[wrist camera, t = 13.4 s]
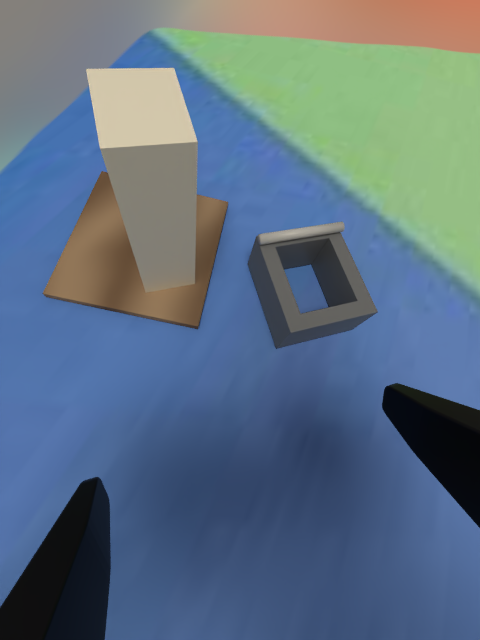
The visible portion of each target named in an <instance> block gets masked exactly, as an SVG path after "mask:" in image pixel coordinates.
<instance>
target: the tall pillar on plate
mask: <svg viewBox="0 0 480 640" xmlns="http://www.w3.org/2000/svg"><path fill="white" fill-rule="evenodd" d="M86 71H87V76H88V82H89V88H90V94H91V99H92V105H93V111H94V116H95V122H96V128H97V133H98V139H99V144H100V149H101V153H102V156H103V159H104V162H105V165H106V168H107V172H108V175H109V178H110V181H111V184H112V187H113V191H114V194H115V197H116V200H117V203H118V206H119V210H120V213H121V216H122V219H123V222H124V225H125V229H126V232H127V235H128V238H129V241H130V244H131V247H132V251H133V254H134V257H135V260H136V263H137V266H138V270H139V273H140V276H141V279H142V282H143V285H144V289H145V292H146V293H147V292H153V291H158V290H164V289H169V288H175V287H180V286H186V285H191V284H195V253H196V199H197V144H198V142H197V139H196V135H195V132H194V129H193V126H192V123H191V120H190V117H189V114H188V110H187V107H186V104H185V101H184V98H183V95H182V92H181V89H180V86H179V82H178V79H177V76H176V73H175V70H174V68H129V69H86Z"/></svg>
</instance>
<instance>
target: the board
mask: <svg viewBox="0 0 480 640" xmlns="http://www.w3.org/2000/svg"><path fill="white" fill-rule="evenodd" d="M227 207H228V202H226V201H221V200H217V199H213V198H209V197H205V196H201V195H197V199H196V253H195V284H191V285H186V286H180V287H175V288H169V289H164V290H158V291H153V292H147V293H146V292H145V289H144V285H143V282H142V279H141V276H140V273H139V270H138V266H137V263H136V260H135V257H134V254H133V251H132V247H131V244H130V241H129V238H128V235H127V232H126V229H125V225H124V222H123V219H122V216H121V213H120V210H119V206H118V203H117V200H116V197H115V194H114V191H113V187H112V184H111V181H110V178H109V175H108V173H107V172H103V171H102V172H101V174H100V176H99V178H98V180H97V182H96V184H95V186H94V188H93V190H92V192H91V194H90V197H89V199H88V201H87V203H86V205H85V207H84V209H83V211H82V213H81V215H80V217H79V219H78V221H77V223H76V226H75V228H74V230H73V232H72V234H71V236H70V238H69V240H68V242H67V244H66V246H65V248H64V250H63V252H62V255H61V257H60V259H59V261H58V263H57V265H56V267H55V269H54V271H53V273H52V275H51V277H50V279H49V282H48V284H47V286H46V288H45V290H44V292H43V294H44V295H45V296H46V297H49V298H53V299H58V300H63V301H68V302H72V303H77V304H82V305H86V306H91V307H96V308H101V309H105V310H110V311H115V312H120V313H124V314H129V315H134V316H138V317H143V318H148V319H153V320H157V321H162V322H167V323H172V324H176V325H181V326H186V327H190V328H195V329H198V327H199V323H200V319H201V315H202V310H203V306H204V302H205V298H206V294H207V290H208V285H209V281H210V277H211V273H212V269H213V265H214V261H215V256H216V252H217V248H218V244H219V240H220V236H221V232H222V227H223V223H224V219H225V215H226V211H227Z"/></svg>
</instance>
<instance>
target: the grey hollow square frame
mask: <svg viewBox="0 0 480 640" xmlns="http://www.w3.org/2000/svg"><path fill="white" fill-rule="evenodd" d="M343 231H344V223H343V222H337V223H330V224H324V225H317V226H310V227H304V228H297V229H291V230H284V231H277V232H271V233H264V234H259V235H258V236H256V239H255V242H254V245H253V248H252V252H251V255H250V258H249V261H248V267H249V270H250V273H251V275H252V278H253V281H254V284H255V287H256V290H257V293H258V296H259V299H260V302H261V305H262V308H263V311H264V314H265V317H266V320H267V323H268V326H269V329H270V332H271V335H272V338H273V341H274V344H275V347H276V349H277V348H281V347H285V346H289V345H293V344H297V343H301V342H305V341H309V340H313V339H317V338H321V337H325V336H329V335H333V334H337V333H341V332H345V331H349V330H352V329H354V328H355V327H357V326H358V325H359V324H361V323H362V322H364V321H365V320H367V319H368V318H370V317H371V316H373V315H374V314H376V313H377V312H378V311H377V309H376V307H375V305H374V303H373V301H372V299H371V296H370V294H369V292H368V290H367V288H366V286H365V284H364V282H363V279H362V277H361V275H360V273H359V271H358V269H357V267H356V265H355V262H354V260H353V258H352V256H351V254H350V252H349V250H348V247H347V245H346V243H345V241H344V239H343V237H342V235H341V233H340V232H343ZM310 264H312V267H313V269H314V272H315V274H316V276H317V279H318V281H319V284H320V286H321V288H322V291H323V293H324V296H325V298H326V301H327V303H328V305H329V308H324V309H320V310H315V311H311V312H306V313H302V314H300V311H299V308H298V306H297V303H296V301H295V298H294V295H293V293H292V290H291V287H290V285H289V282H288V279H287V277H286V274H285V271H284V269H288V268H294V267H299V266H304V265H310Z"/></svg>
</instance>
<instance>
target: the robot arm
mask: <svg viewBox="0 0 480 640" xmlns="http://www.w3.org/2000/svg"><path fill="white" fill-rule="evenodd" d="M382 408H383V410H384V412H385V414H386V415H387V417H388V418H389V419H390V421H391V422H392V424H393V425H394V426H395V428H396V429H397V430H398V432H399V433H400V434H401V436H402V437H403V439H404V440H405V441H406V443H407V444H408V445H409V447H410V448H411V449H412V451H413V452H414V453H415V454H416V456H417V457H418V458H419V459H420V460H421V461H422V463H423V464H424V465H425V466H426V467H427V468H428V469H429V471H430V472H431V473H432V474H433V475H434V476H435V477H436V479H437V480H438V481H439V482H440V483H441V484H442V485H443V487H444V488H445V489H446V490H447V491H448V492H449V493H450V495H451V496H452V497H453V498H454V499H455V500H456V501H457V503H458V504H459V505H460V506H461V507H462V508H463V509H464V511H465V512H466V513H467V514H468V515H469V516H470V517H471V519H472V520H473V521H474V522H475V523H476V524H477V525H478V527H479V528H480V410H477V409H474V408H471V407H468V406H465V405H462V404H459V403H456V402H453V401H450V400H447V399H444V398H441V397H438V396H435V395H432V394H429V393H426V392H423V391H420V390H417V389H414V388H411V387H408V386H405V385H402V384H398V383H395V384H392V385H389V386H386V387H385V389H384V395H383V402H382ZM110 569H111V556H110V504H109V498H108V495H107V492H106V490H105V488H104V485H103V483H102V481H101V479H100V478H99V477H94V478H91V479H88V480H85V481H83V482H82V483H81V484H80V485H79V487H78V488H77V490H76V491H75V493H74V494H73V496H72V497H71V499H70V501H69V502H68V504H67V505H66V507H65V508H64V510H63V511H62V513H61V514H60V516H59V518H58V519H57V521H56V522H55V524H54V525H53V527H52V528H51V530H50V531H49V533H48V535H47V536H46V538H45V539H44V541H43V542H42V544H41V545H40V547H39V548H38V550H37V552H36V553H35V555H34V556H33V558H32V559H31V561H30V562H29V564H28V565H27V567H26V569H25V570H24V572H23V573H22V575H21V576H20V578H19V579H18V581H17V582H16V584H15V586H14V587H13V589H12V590H11V592H10V593H9V595H8V596H7V598H6V599H5V601H4V603H3V604H2V606H1V607H0V640H105V630H106V618H107V607H108V596H109V584H110Z"/></svg>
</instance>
